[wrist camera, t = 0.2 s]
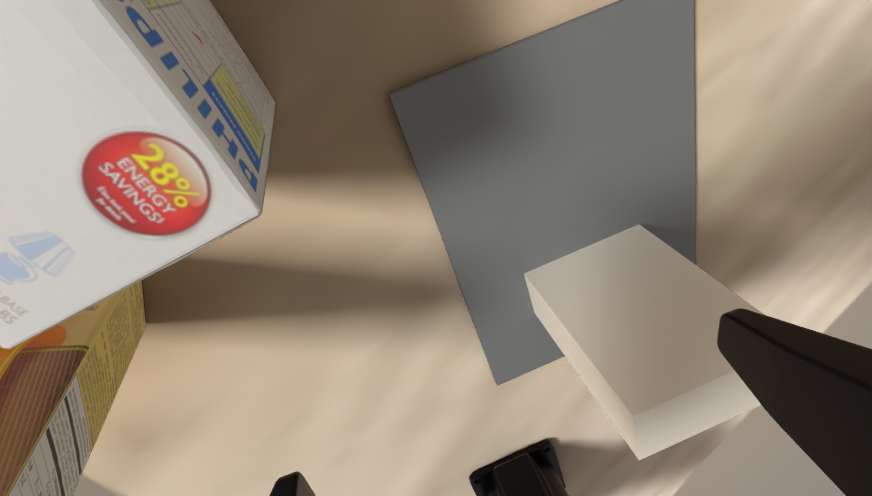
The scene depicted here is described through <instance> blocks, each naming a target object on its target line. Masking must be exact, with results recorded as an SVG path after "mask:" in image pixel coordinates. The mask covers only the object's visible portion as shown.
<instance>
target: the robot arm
mask: <svg viewBox="0 0 872 496" xmlns="http://www.w3.org/2000/svg"><path fill="white" fill-rule="evenodd" d="M717 345H718V348H719V350H720V352H721V354H722V355H723V356H724V358H725V359H726V360H727V362H728V363H729V364H730V365H731V367H732V368H733V369H734V370H735V372H736V373H737V374H738V376H739V377H740V378H741V379H742V381H743V382H744V383H745V384H746V386H747V387H748V388H749V390H750V391H751V392H752V393H753V395H754V396H755V397H756V399H757V400H758V401H759V402H760V404H761V405H762V406H763V407H764V408H765V410H766V411H767V412H768V413H769V414H770V416H771V417H772V418H773V419H774V420H775V421H776V422H777V423H778V424H779V425H780V427H781V428H782V429H783V430H784V431H785V432H786V433H787V434H788V435H789V436H790V437H791V438H792V439H793V440H794V441H795V442H796V443H797V444H798V445H799V447H800V448H801V449H802V450H803V451H804V452H805V453H806V454H807V455H808V456H809V457H810V458H811V459H812V460H813V461H814V462H815V463H816V464H817V465H818V467H819V468H820V469H821V470H822V471H823V472H824V473H825V474H826V475H827V476H828V477H829V478H830V479H831V480H832V481H833V482H834V483H835V485H836V486H837V487H838V488H839V489H840V490H841V491H842V492H843V493H844V494H845V495H846V496H872V349H869V348H866V347H863V346H860V345H856V344H853V343H850V342H847V341H844V340H841V339H838V338H835V337H831V336H829V335H826V334H822V333H819V332H816V331H813V330H810V329H807V328H804V327H800V326H797V325H794V324H791V323H788V322H785V321H782V320H778V319H775V318H772V317H769V316H766V315H763V314H760V313H757V312H753V311H750V310H747V309H743V308H738V309H734V310H732V311H729V312H726V313H724V314H722V316H721V317H720V320H719V328H718V336H717ZM469 480H470V483H471V485H472V487H473V489H474V491H475V493H476V495H477V496H569V495H568V494H567V492H566V490H565V483H564V480H563V477H562V473H561V470H560V467H559V463H558V460H557V457H556V454H555V450H554V447H553V445H552V443H551V442H550V441H543V442H541V443H539V444H537V445H535V446H532V447H530V448H528V449H526V450H523V451H521V452H519V453H517V454H515V455H512V456H510V457H508V458H506V459H503V460H501V461H499V462H497V463H494V464H492V465H490V466H488V467H486V468H483V469H481V470H479V471H477V472H474V473H473V474H471V475H470V477H469ZM270 496H315V494H314V492H313V491H312V489H311V487H310V486H309V484H308V483H307V481H306V480H305V478H304V476H303V475H302V474H301V473H300V472H298V471H297V472H293V473H291V474H288V475H285V476H283V477H280V478H279V479H278V480H277V481H276V483H275V485H274V487H273V489H272V491H271V494H270Z"/></svg>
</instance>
